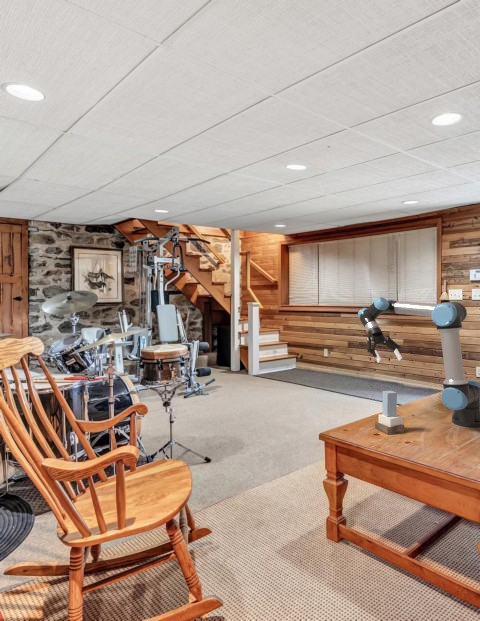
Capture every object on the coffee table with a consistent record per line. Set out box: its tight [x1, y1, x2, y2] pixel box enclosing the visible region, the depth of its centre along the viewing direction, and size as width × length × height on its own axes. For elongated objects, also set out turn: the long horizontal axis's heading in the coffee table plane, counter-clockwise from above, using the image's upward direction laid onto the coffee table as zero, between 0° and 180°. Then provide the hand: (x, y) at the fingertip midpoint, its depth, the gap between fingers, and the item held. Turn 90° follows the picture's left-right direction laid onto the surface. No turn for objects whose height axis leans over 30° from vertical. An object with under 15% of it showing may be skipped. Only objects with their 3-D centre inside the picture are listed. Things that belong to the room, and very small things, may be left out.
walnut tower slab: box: [374, 420, 405, 436], centre depth 210 cm, size 10×10×4 cm
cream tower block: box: [378, 414, 403, 427], centre depth 210 cm, size 8×8×4 cm
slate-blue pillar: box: [381, 390, 398, 417], centre depth 210 cm, size 5×5×12 cm
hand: (390, 360), depth 227 cm, fingers open, 13 cm apart
